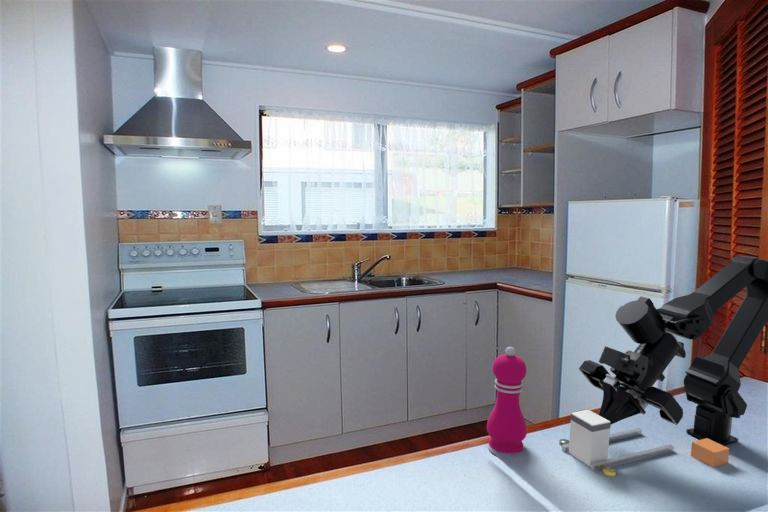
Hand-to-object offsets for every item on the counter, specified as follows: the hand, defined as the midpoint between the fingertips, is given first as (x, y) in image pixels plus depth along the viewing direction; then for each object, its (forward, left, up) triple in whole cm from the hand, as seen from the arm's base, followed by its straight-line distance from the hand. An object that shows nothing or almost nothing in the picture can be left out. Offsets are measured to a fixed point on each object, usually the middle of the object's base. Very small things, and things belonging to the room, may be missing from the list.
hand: (599, 426), depth 87 cm
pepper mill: (+13, -9, -7) cm, 17 cm away
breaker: (+2, 0, -5) cm, 6 cm away
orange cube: (-18, +8, -7) cm, 21 cm away
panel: (-5, 0, -7) cm, 8 cm away
